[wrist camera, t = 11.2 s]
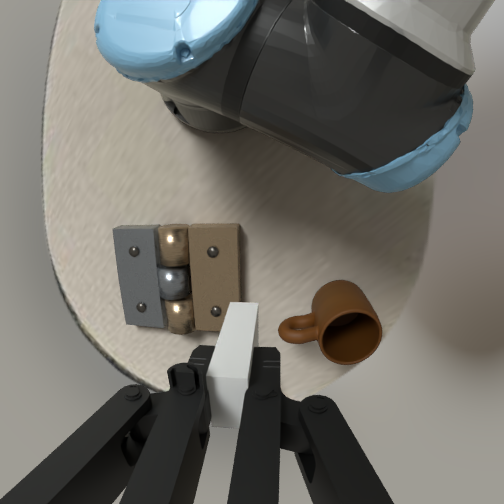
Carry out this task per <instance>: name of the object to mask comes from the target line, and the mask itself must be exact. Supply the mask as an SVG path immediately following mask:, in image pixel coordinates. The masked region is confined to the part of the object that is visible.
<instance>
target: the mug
mask: <svg viewBox="0 0 504 504" xmlns="http://www.w3.org/2000/svg"><path fill="white" fill-rule="evenodd" d="M297 329H301V330H297ZM278 332H279V336H280V337H281V338H282V340H284V341H286V342H288V343H293V344H303V343H307V342H311V341H315V340H317V341H318V343H319V346H320V349H321V351H322V353H323V354H324V356H325V357H326V358H327V359H329V360H330V361H332V362H334V363H337V364H341V365H351V364H356V363H359V362H361V361H363V360H365V359H367V358H368V357H369V356H371V355H372V354H373V353H374V352H375V350H376V349H377V348H378V346H379V344H380V341H381V338H382V327H381V323H380V321H379V319H378V316H377V314H376V312H375V311H374V309H373V307H372V306H371V304H370V302H369V301H368V299H367V298H366V296H365V295H364V293H363V292H362V290H361V289H360V288H359V287H358V286H357V285H355V284H354V283H352V282H349V281H345V280H336V281H332V282H329V283H327V284H325V285H324V286H323V287H321V288H320V289H319V290H318V291H317V293H316V294H315V296H314V298H313V302H312V313H310V314H306V315H301V316H294V317H290V318H288V319H286V320H284V321H283V322H282V323H281V324H280V325H279V329H278Z"/></svg>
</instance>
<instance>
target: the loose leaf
mask: <svg viewBox="0 0 504 504" xmlns="http://www.w3.org/2000/svg"><path fill="white" fill-rule="evenodd" d="M158 227H160V225H121V226H118V227H116V228H114V229H113V237H114V246H115V254H116V262H117V270H118V277H119V284H120V290H121V297H122V303H123V309H124V314H125V320H126V324H129V325H138V326H148V327H158V328H164V327H165V326H166V324H167V315H166V307H165V299H167V300H177V299H182V298H185V297H187V296H188V295H189V293H190V292H189V280H188V266H187V264H186V265H183V266H174V267H171V266H164V265H162V264H161V261H160V249H159V237H158Z"/></svg>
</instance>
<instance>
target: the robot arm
mask: <svg viewBox="0 0 504 504" xmlns="http://www.w3.org/2000/svg"><path fill="white" fill-rule="evenodd" d="M494 1H495V0H101V1H100V4H99V6H98V9H97V12H96V17H95V24H94V30H95V33H96V38H97V40H96V44H97V47H98V49H99V51H100V53H101V54H102V56H103V57H104V58H105V60H106V61H107V62H108V63H110V64H111V65H112V66H113V67H115V68H116V69H117V71H118V72H119V73H120V74H122V75H123V76H124V77H126V78H128V79H130V80H133V81H138V82H142V83H144V84H145V85H147V86H149V87H151V88H153V89H154V90H156V91H158V92H160V93H161V96H162V99H163V101H164V103H165V104H166V106H167V108H168V109H169V110H170V111H171V113H172V114H173V115H174V116H175V117H176V118H178V119H179V120H180V121H182V122H183V123H185V124H187V125H189V126H191V127H193V128H196V129H198V130H202V131H206V132H212V133H226V132H232V131H236V130H240V129H242V128H245V127H249V128H252V129H254V130H256V131H258V132H260V133H262V134H264V135H267V136H269V137H271V138H273V139H275V140H277V141H279V142H281V143H283V144H285V145H287V146H289V147H291V148H293V149H295V150H297V151H299V152H301V153H303V154H305V155H307V156H309V157H311V158H313V159H315V160H317V161H319V162H321V163H322V164H324V165H326V166H328V167H330V168H331V170H332V171H333V172H334V173H336V174H338V175H339V176H344V177H345V178H350V179H353V180H355V181H357V182H359V183H361V184H363V185H365V186H367V187H369V188H371V189H373V190H376V191H380V192H385V193H392V192H398V191H403V190H406V189H409V188H411V187H413V186H415V185H417V184H419V183H420V182H422V181H424V180H425V179H427V178H428V177H429V176H431V175H432V174H433V173H434V172H436V171H437V170H438V169H439V168H440V167H441V166H442V165H443V164H444V163H445V162H446V161H447V160H448V159H449V157H450V156H451V155H452V154H453V152H454V151H455V150H456V148H457V147H458V145H459V144H460V139H459V135H461V134H462V133H463V132H465V131H466V130H467V129H468V127H469V124H470V122H471V118H472V113H473V99H472V95H471V93H470V91H469V89H468V86H467V85H466V82H467V81H468V80H469V78H470V77H471V76H472V75H473V73H474V72H475V63H474V58H473V53H472V49H471V44H470V40H471V34H472V33H473V31H474V30H475V29H476V27H477V26H478V24H479V23H480V21H481V20H482V19H483V17H484V16H485V14H486V13H487V11H488V10H489V8H490V7H491V6H492V4H493V3H494ZM167 373H168V379H169V384H170V389H169V391H167V392H162V393H152V394H150V392H149V390H148V389H147V388H146V387H144V386H142V385H137V384H135V385H128V386H125V387H123V388H122V389H120V390H119V391H118V392H117V393H116V394H115V395H114V396H113V397H112V398H110V399H109V400H108V401H107V402H106V403H105V404H104V405H103V406H102V407H101V408H100V409H99V410H98V411H96V412H95V413H94V414H93V415H92V416H91V417H90V418H89V419H88V420H87V421H86V422H85V423H83V424H82V425H81V426H80V427H79V428H78V429H77V430H76V431H75V432H74V433H73V434H72V435H70V436H69V437H68V438H67V439H66V440H65V441H64V442H63V443H62V444H61V445H60V446H59V447H57V449H55V450H54V451H53V452H52V453H51V454H50V455H49V456H48V457H47V458H45V459H44V460H43V461H42V462H41V463H40V464H39V465H38V466H37V467H36V468H35V469H33V470H32V471H31V472H30V473H29V474H28V475H27V476H26V477H25V478H24V479H22V480H21V481H20V482H19V483H18V484H17V485H16V486H15V487H14V488H13V489H11V491H9V492H8V493H7V494H6V495H5V496H4V497H3V498H1V499H0V504H112V503H113V502H114V501H115V500H116V498H117V497H118V496H119V495H120V494H121V492H122V491H123V490H124V489H125V487H126V486H127V487H126V489H125V492H124V494H123V496H122V499H121V501H120V503H119V504H193V503H194V499H195V495H196V491H197V486H198V482H199V478H200V474H201V470H202V466H203V462H204V458H205V454H206V450H207V445H208V441H209V437H210V431H209V424H210V421H211V422H212V427H223V428H238V429H239V433H238V440H237V446H236V452H235V459H234V465H233V471H232V477H231V484H230V490H229V495H228V501H227V504H278V502H279V467H280V448H281V449H285V450H289V451H293V452H295V457H296V459H297V462H298V465H299V468H300V470H301V473H302V476H303V478H304V481H305V484H306V486H307V489H308V492H309V494H310V497H311V499H312V502H313V504H394V503H393V501H392V499H391V498H390V496H389V495H388V492H387V491H386V489H385V487H384V486H383V484H382V482H381V481H380V479H379V477H378V475H377V474H376V472H375V470H374V469H373V467H372V465H371V464H370V462H369V460H368V458H367V457H366V455H365V453H364V451H363V450H362V448H361V446H360V445H359V443H358V441H357V439H356V438H355V436H354V434H353V433H352V431H351V429H350V427H349V426H348V424H347V422H346V420H345V419H344V417H343V415H342V414H341V412H340V410H339V408H338V407H337V405H336V403H335V402H334V401H333V400H332V399H330V398H328V397H326V396H321V395H312V396H309V397H306V398H305V399H303V400H302V401H301V402H299V401H295V400H292V399H289V398H288V397H286V396H285V395H284V394H283V393H282V392H281V388H280V352H279V351H278V350H277V348H276V347H258V303H250V302H230V304H229V307H228V310H227V313H226V316H225V319H224V322H223V325H222V329H221V332H220V335H219V338H218V341H217V344H216V346H206V345H199V346H198V347H197V348H196V349H194V350H193V352H192V354H191V356H190V359H189V361H188V363H179V364H175V365H173V366H172V367H170V368H169V369H168V370H167Z"/></svg>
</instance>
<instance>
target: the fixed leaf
mask: <svg viewBox="0 0 504 504" xmlns="http://www.w3.org/2000/svg"><path fill="white" fill-rule="evenodd" d="M158 237H159V249H160V261H161V264H162V265H164V266H171V267H174V266H183V265H186V264H189V263H190V269H191V282H192V294H191V293H189V295H188V296H187V297H185V298H182V299H177V300H167V299H165V307H166V315H167V323H168V330H169V331H170V332H171V333H173V334H179V335H183V334H188V333H191V332H193V331H195V330H204V331H221V329H222V325H223V322H224V319H225V316H226V313H227V310H228V307H229V304H230V302H241V277H240V231H239V224H192V225H191V226H189V225H187V224H170V225H164V226H160V227H158Z"/></svg>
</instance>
